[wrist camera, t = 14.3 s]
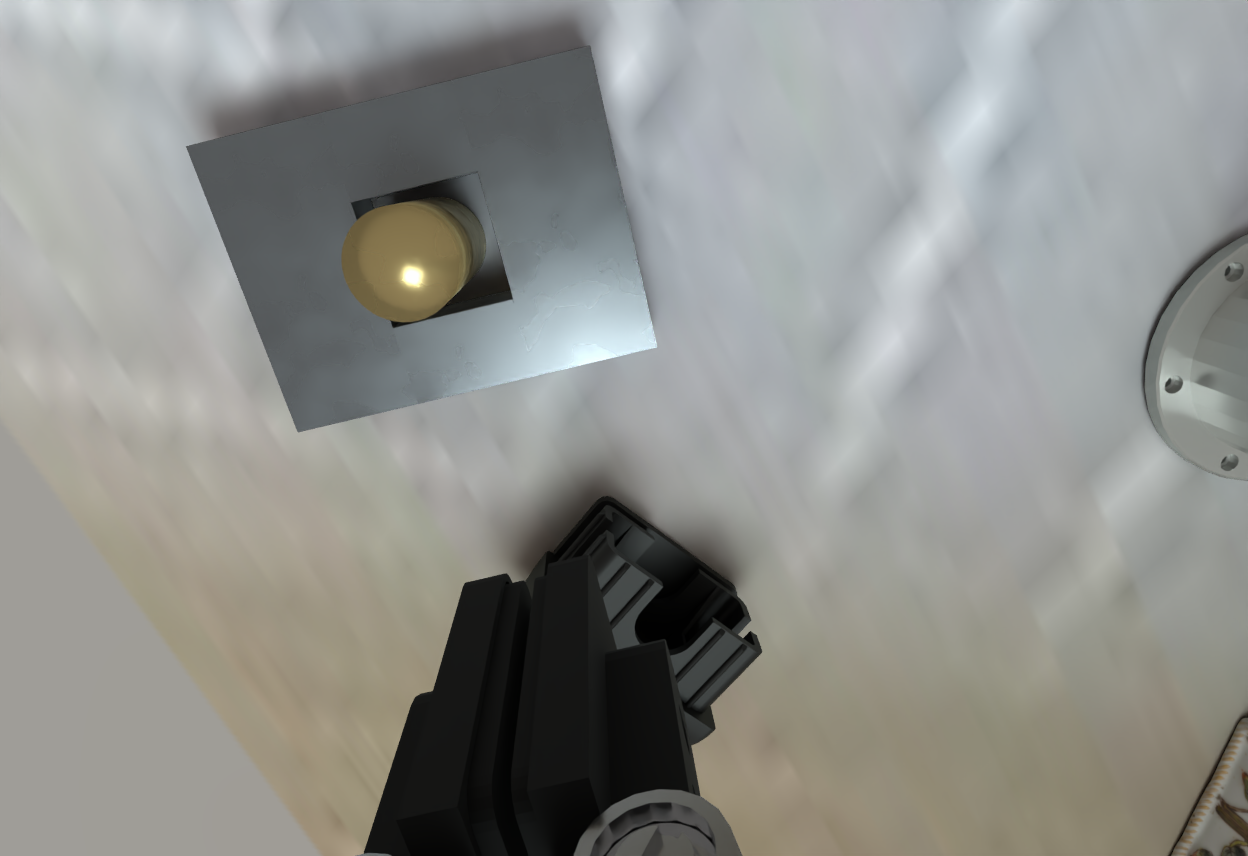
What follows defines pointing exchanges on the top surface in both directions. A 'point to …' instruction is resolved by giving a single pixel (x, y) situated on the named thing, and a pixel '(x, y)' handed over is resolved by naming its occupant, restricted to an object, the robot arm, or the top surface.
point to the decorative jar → (1222, 806)
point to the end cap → (663, 604)
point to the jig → (413, 157)
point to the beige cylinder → (412, 257)
